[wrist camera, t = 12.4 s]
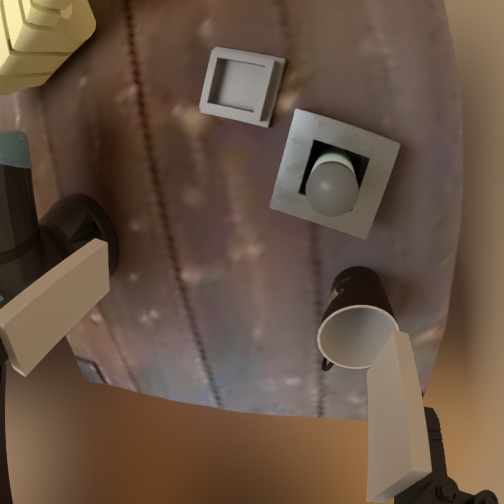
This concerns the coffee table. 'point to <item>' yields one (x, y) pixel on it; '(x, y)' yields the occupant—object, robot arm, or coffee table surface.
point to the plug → (332, 183)
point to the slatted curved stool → (39, 39)
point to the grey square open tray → (242, 85)
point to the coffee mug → (355, 320)
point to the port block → (368, 177)
